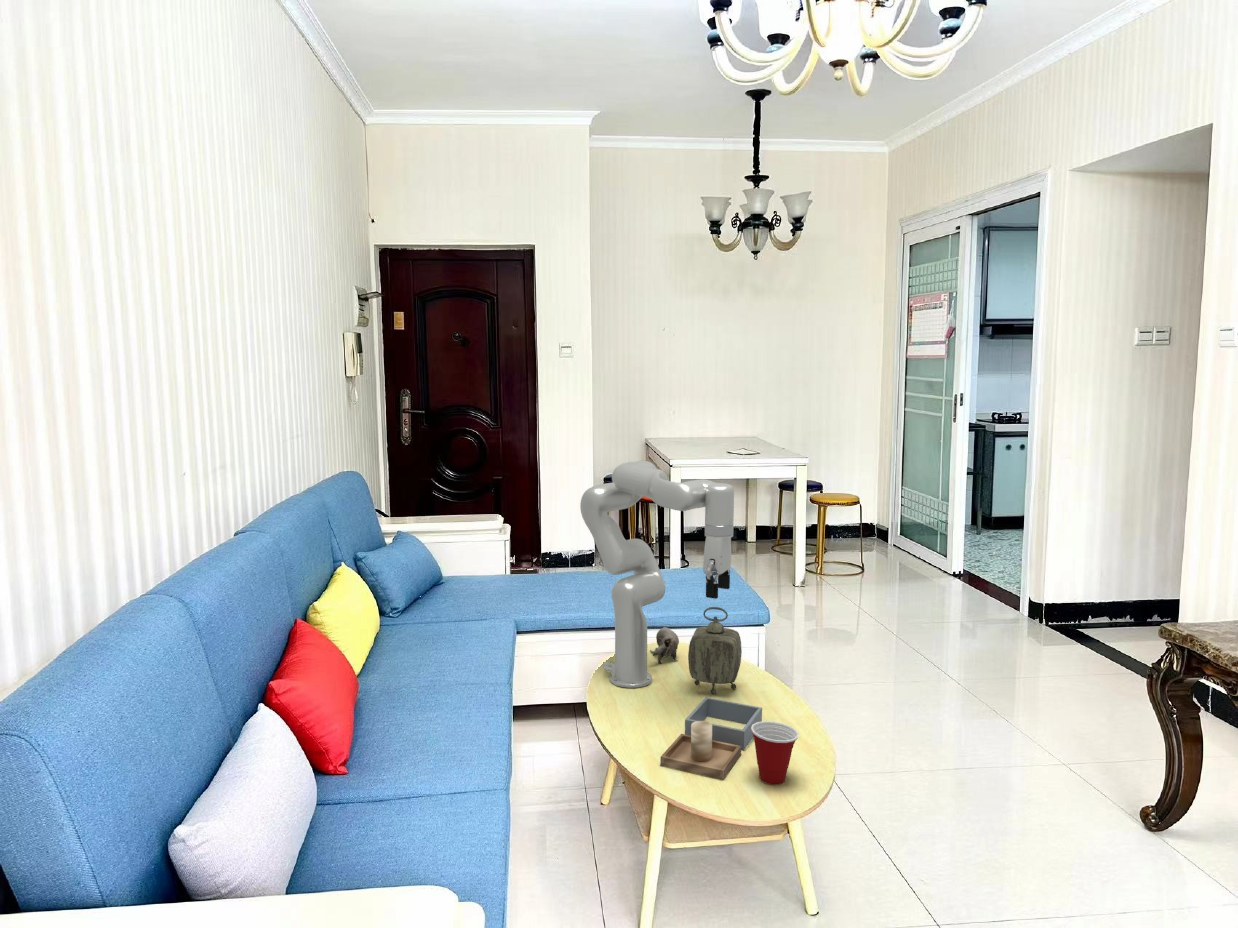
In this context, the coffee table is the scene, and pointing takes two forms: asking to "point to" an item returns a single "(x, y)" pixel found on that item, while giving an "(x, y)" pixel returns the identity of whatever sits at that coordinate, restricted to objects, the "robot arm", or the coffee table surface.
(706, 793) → the coffee table surface
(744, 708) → the grey square frame
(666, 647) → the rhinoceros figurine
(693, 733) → the beige grooved cylinder
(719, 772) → the tray
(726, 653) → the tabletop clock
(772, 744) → the plastic cup
